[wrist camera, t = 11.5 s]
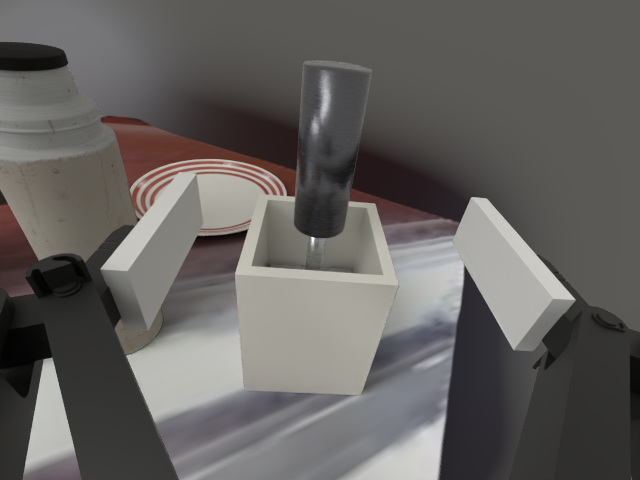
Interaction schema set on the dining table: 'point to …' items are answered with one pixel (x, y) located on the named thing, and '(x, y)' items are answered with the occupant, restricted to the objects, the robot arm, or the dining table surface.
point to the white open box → (312, 302)
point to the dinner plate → (213, 191)
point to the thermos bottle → (61, 163)
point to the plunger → (327, 152)
